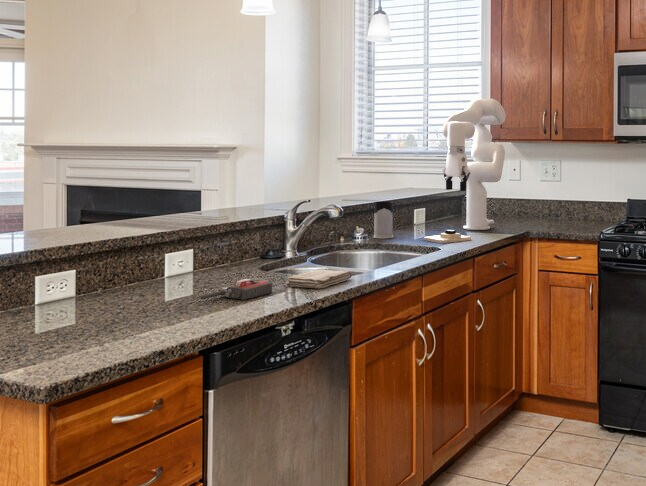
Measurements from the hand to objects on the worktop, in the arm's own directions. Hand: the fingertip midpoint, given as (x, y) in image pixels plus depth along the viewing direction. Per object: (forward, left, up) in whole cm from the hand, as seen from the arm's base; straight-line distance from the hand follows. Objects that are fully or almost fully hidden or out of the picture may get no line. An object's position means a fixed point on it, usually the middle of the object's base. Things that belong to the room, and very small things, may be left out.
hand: (456, 190), depth 322 cm
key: (+10, +8, -18) cm, 22 cm away
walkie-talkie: (+125, +58, -20) cm, 139 cm away
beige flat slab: (+10, +6, -20) cm, 23 cm away
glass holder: (+24, -21, -20) cm, 38 cm away
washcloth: (+98, +54, -20) cm, 114 cm away
